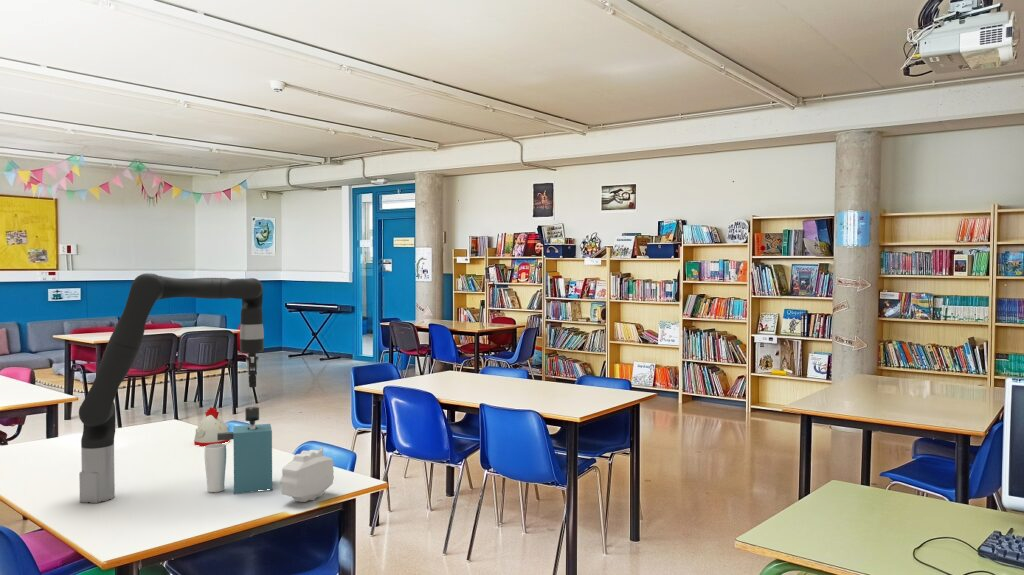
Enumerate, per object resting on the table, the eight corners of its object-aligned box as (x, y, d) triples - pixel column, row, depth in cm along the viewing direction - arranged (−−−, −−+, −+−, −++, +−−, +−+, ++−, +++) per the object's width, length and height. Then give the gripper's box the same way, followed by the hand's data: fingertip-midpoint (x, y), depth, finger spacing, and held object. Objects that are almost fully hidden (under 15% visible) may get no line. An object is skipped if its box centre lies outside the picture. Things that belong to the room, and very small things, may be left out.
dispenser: (270, 480, 261) (270, 423, 260) (272, 490, 250) (271, 430, 249) (218, 485, 255) (217, 427, 255) (217, 495, 244) (217, 434, 243)
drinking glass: (212, 495, 244) (211, 449, 244) (200, 491, 249) (200, 446, 248) (230, 490, 250) (230, 445, 249) (219, 486, 254) (219, 442, 254)
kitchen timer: (207, 448, 308) (207, 411, 308) (187, 443, 316) (187, 408, 315) (236, 441, 320) (236, 406, 319) (216, 437, 327) (216, 403, 327)
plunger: (259, 450, 256) (258, 406, 255) (259, 453, 252) (259, 408, 251) (245, 451, 254) (245, 407, 254) (245, 454, 250) (245, 409, 250)
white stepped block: (338, 494, 245) (338, 446, 245) (299, 510, 229) (299, 458, 229) (313, 489, 250) (313, 442, 250) (273, 504, 234) (272, 454, 234)
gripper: (264, 338, 247) (264, 388, 247) (262, 335, 260) (263, 381, 260) (240, 339, 244) (240, 389, 244) (239, 336, 257) (240, 383, 258)
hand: (252, 385), depth 252 cm, fingers open, 8 cm apart
